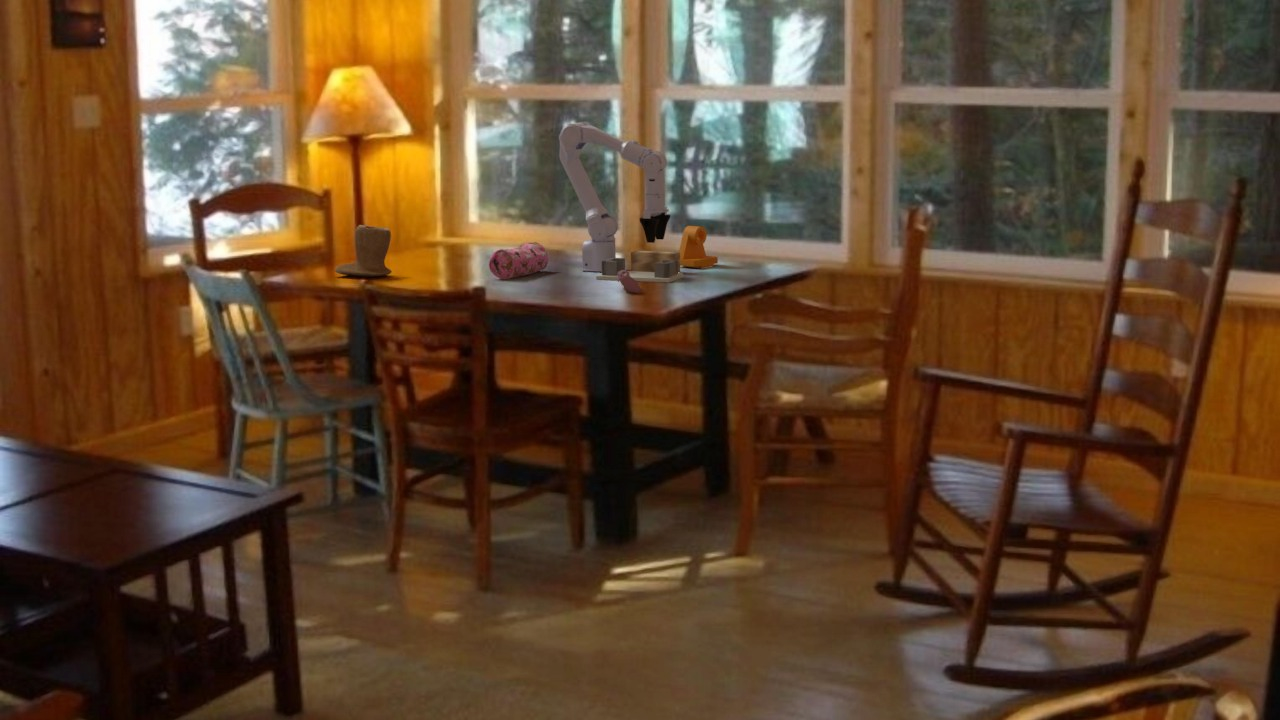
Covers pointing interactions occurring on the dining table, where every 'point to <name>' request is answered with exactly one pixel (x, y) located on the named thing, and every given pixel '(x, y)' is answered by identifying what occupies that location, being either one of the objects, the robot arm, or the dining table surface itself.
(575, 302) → the dining table surface
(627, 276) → the pink rounded piece
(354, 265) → the top hat
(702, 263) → the bracket
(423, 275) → the dining table surface
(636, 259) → the wooden block
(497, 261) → the pencil case
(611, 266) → the cradle
